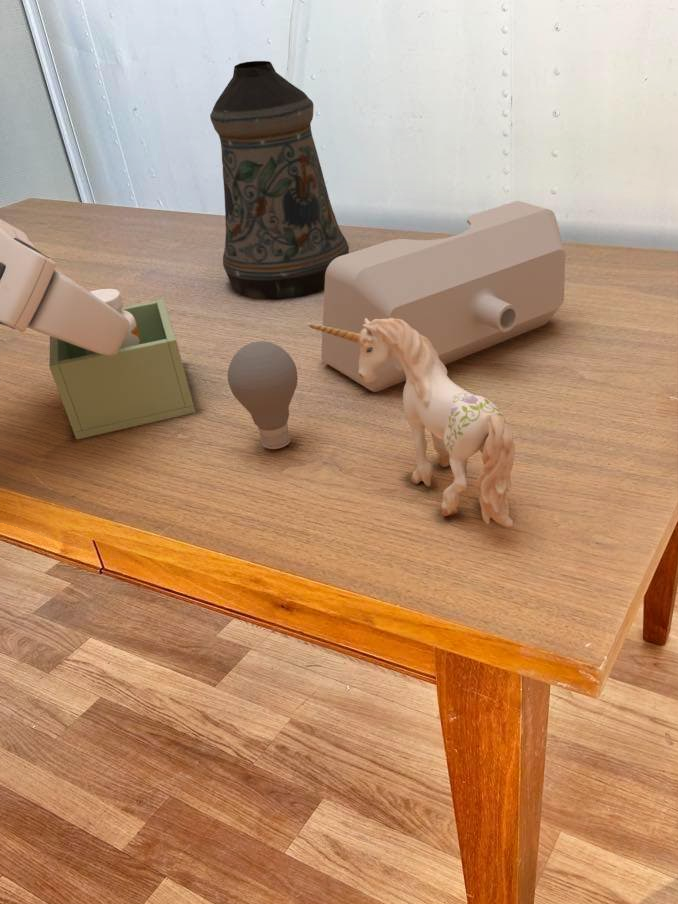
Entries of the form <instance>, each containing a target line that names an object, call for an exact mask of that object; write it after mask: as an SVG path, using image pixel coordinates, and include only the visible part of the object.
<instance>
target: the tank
mask: <svg viewBox="0 0 678 904" xmlns="http://www.w3.org/2000/svg"><path fill="white" fill-rule="evenodd" d="M466 223H467V224H468V225H469V227H468V229H466V230H465V231H463V232H461V233H459V234H458V233H457V234H455V235H452V236H448V237H444V238H443V237H442V238H437V239H409V238H396V239H395V238H394V239H390V240H387V241H383V242H381V243H377V244H375V245H371V246H369V247H368V246H367V247H365V248H361V249H359V250H355V251H353V252H352V251H351V252H348V254H346V255H342V256H339V257H337V258H335V259H334V260H333V261H332V262H331V263H330V264H329V266H328V267H327V270H326V273H325V289H324V291H323V292H324V293H323V311H322V312H323V313H322V326H326V327H332V328H334V329H340V330H346V331H348V332H355V333H359V334H361V333H360V332H361V330H362V329H364V328H365V327H363V325H364V324H365V321H364V319H368V320H369V321H370V322H371V321H373V320H375V319H389V318H394V319H401V320H403V321H405V322H406V323H407V324H408V325H409V326H410V327H411V328H413V329H414V330H416V331H417V332H418V333H419V334H421V335H423V336H424V337H426V338H427V339H428V340H429V341H430V342H431V344H432V345H433V347H434V349H435V350H436V351H437V353H438V356H439V359H440V361H441V362H442V363H443V364H444V366H446V365H449V364H451V363H453V362H456V361H458V360H461V359H464V358H466V357H469V356H471V355H474V354H476V353H478V352H481V351H483V350H485V349H488V348H491V347H493V346H495V345H498V344H501V343H504V342H506V341H508V340H511V339H513V338H516V337H518V336H520V335H523V334H525V333H528V332H531V331H533V330H535V329H538V328H540V327H543V326H545V325H547V324H548V323H549V322H550V321H551V319H553V317H554V316H555V314H556V313H557V312H558V310H559V309H560V308H561V306H562V305H563V304H564V300H565V281H566V280H565V279H566V274H565V273H566V251H565V248H564V244H563V241H562V236H561V232H560V229H559V225H558V220H557V217H556V214H555V212H554V211H553V210H552V209H549V208H546V207H542V206H538V205H535V204H531V203H527V202H524V201H520V200H515V201H512V202H509V203H506V204H502V205H499V206H496V207H493V208H490V209H487V210H483V211H480V212H477V213H473V214H471V215H469V216H468V217H467V219H466ZM321 334H322V335H321V350H320V351H321V352H320V353H321V354H320V357H321V360H322V362H324V363H325V364H327V365H328V366H330V367H332V368H333V369H335V370H336V371H338V372H340V373H341V374H343V375H345V376H346V377H348V378H349V379H351V380H353V381H354V382H355V383H357V384H359V385H361V386H363V387H364V388H365V389H367V390H369V391H371V392H374V393H378V392H381V391H384V390H386V389H388V388H390V387H393V386H396V385H399V384H401V383H403V382H406V375H405V372H404V369H403V367H402V365H401V363H400V362H399V360H398V359H397V358H396V357H394V356H390V357H389V358H388V359H387V360H386V361H385V362H383V363H382V364H381V366H380V368H379V370H378V371H377V372H378V375H379V376H378V379H376V380H374V381H373V382H369V383H367V382H365V381H364V380H363V379H362V378H361V377H360V376H359V374H358V371H359V357H360V353H361V351H360V343H356V342H353V341H350V340H348V339H343V338H341V337H337V336H334V335H331V334H329V333H326V332H322V331H321Z"/></svg>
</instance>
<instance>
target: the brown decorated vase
mask: <svg viewBox="0 0 678 904" xmlns="http://www.w3.org/2000/svg"><path fill="white" fill-rule="evenodd" d="M232 73H233V74H232V77H231V78H230V80H229V82H228V83H227V85H226V86H225V87H224V90H223V91H222V92H221V94H220V95H219V97H218V99H217V100H216V102H215V103H214V106H213V107H212V111H211V113H210V115H209V117H210V121H211V123H212V126H213V129H214V131H215V132H216V133H217V136H218V137H219V138H218V139H219V141H220V149H221V164H222V179H223V191H224V193H223V194H224V195H223V196H224V212H225V213H224V214H225V215H224V219H225V241H224V251H223V254H222V255H223V256H222V266H223V268H224V270H225V273H226V275H227V278H228V281H229V283H230V285H231V287H232V290H233V291H234V292H236V293H237V294H239V295H240V296H242V297H245V298H250V299H253V300H272V301H278V300H286V299H296V298H303V297H307V296H310V295H314V294H317V293H320V292H324V289H325V273H326V270H327V267H328V266H329V264H330V263H331V262H332V261H333V260H334V259H335V258H337V257H339V256H342V255H346V254H349V253H350V247H349V243H348V241H347V239H346V237H345V236H344V234H343V233H342V231H341V228H340V226H339V223H338V221H337V218H336V215H335V212H334V210H333V207H332V203H331V200H330V196H329V193H328V188H327V185H326V181H325V178H324V174H323V170H322V166H321V162H320V158H319V154H318V151H317V148H316V143H315V139H314V136H313V133H312V126H311V124H312V121H313V119H314V118H313V117H314V108H315V107H314V102H313V101H312V99H310V97H309V96H308V95H307V94H306V93H305V91H303V90H301V89H300V88H299V87H297V86H295V84H292V83H291V82H290V81H288V80H287V79H286V78H285V77H284V76H282V75H280V74H279V73H278V72H277V71H276V69H275V67H274V65H273V64H272V62H271V61H269V60H268V61H267V60H253V61H251V60H250V61H245V62H240V63H238V64H236V65H234V67H233V72H232Z"/></svg>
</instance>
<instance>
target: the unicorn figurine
mask: <svg viewBox="0 0 678 904" xmlns="http://www.w3.org/2000/svg"><path fill="white" fill-rule="evenodd" d="M364 321H365V324H364V325H363V327H365V328H364V329H362V330H361V332H360V333H361V334H359V333H355V332H348V331H346V330H340V329H334V328H332V327H326V326H323V325H321V324H316V323H312V322H308V323H307V324H306V326H308V327H309V328H310V329H314V330H316V331H320V332H321V333H322V332H326V333H329V334H331V335H334V336H337V337H341V338H343V339H348V340H350V341H353V342H356V343H360V351H361V353H360V357H359V371H358V374H359V376H360V377H361V378H362V379H363V380H364V381H365V382H367V383H369V382H373V381H374V380H376V379H378V376H379V375H378V372H377V371H378V370H379V368H380V366H381V364H382V363H383V362H385V361H386V360H387V359H388V358H389V357H390V356H394V357H396V358H397V359H398V360H399V362H400V363H401V365H402V367H403V369H404V372H405V375H406V381H405V384H404V386H403V392H402V401H403V402H402V406H403V412H404V416H405V418H406V419H407V422H408V425H409V428H410V430H411V433H412V435H413V446H414V450H415V452H416V455H417V465H416V469H414V470H413V472H412V474H411V476H410V481H411V483H412V484H414V485H418V484H419V483H420V482H423V483H424V485H425V486H427V487H428V488H430V487H431V485H432V476H433V469H434V468H433V464H432V462H431V461H430V460H429V458H428V456H427V450H428V449H427V448H428V441H427V439H426V436H425V435H426V432H425V430H428V432H430V434H431V438H432V445H433V449H434V451H435V452H436V456H437V460H438V464H439V465H440V467H442V468H447V467H449V466H450V469H451V471H452V474H453V481H452V483H451V484H450V485H449V486H447V487H446V488H445V489H444V490H443V492H442V502H441V515H442V517H448V516H452V515H455V514H456V513H458V511H459V510H458V505H459V504H460V502H461V494H460V493H461V492H462V491H465V490H467V489H468V487H469V482H468V478H467V465H468V460H469V459H470V458H471V457H472V456H474V455H475V454H477V453H478V452H479V451H480V453H481V460H482V464H483V466H482V471H481V472H480V473H479V474H478V477H477V479H476V486H477V489H478V491H479V497H478V503H479V505H480V509H481V517H482V520H483V521H484V523H485V524H486V525H490V524H491V518H492V520H493V521H494V522H496V523H497V524H499V525H502V526H503V527H506V528H511V527H512V526H513V525H514V520H513V519H512V518H511V517H510V516H509V514H510V508H509V507H510V503H509V502H508V500H507V498H506V497H507V492H510V491H511V490H512V478H511V477H512V476H511V472H512V470H513V467H514V459H515V455H516V446H515V441H514V434H513V431H512V430H511V428H509V426H508V425H507V422H506V418H505V415H504V414H503V412H502V410H501V409H499V407H498V406H497V405H496V404H495V403H493V402H492V401H491V400H489V399H488V398H486V397H484V396H482V395H478V394H473V393H471V392H469V391H467V390H466V389H463V388H462V387H461V386H459V385H458V384H456V383H455V382H453V380H451V379H450V377H449V376H448V370H447V367H446V365H444V364H443V363H442V362H441V361H440V359H439V356H438V353H437V351H436V350H435V349H434V347H433V345H432V344H431V342H430V341H429V340H428V339H427V338H426V337H424V336H423V335H421V334H419V333H418V332H417V331H416V330H414V329H413V328H411V327H410V326H409V325H408V324H407V323H406V322H405V321H403V320H401V319H394V318H389V319H375V320H373V321H371V322H370V321H369V320H368V319H364Z"/></svg>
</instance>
